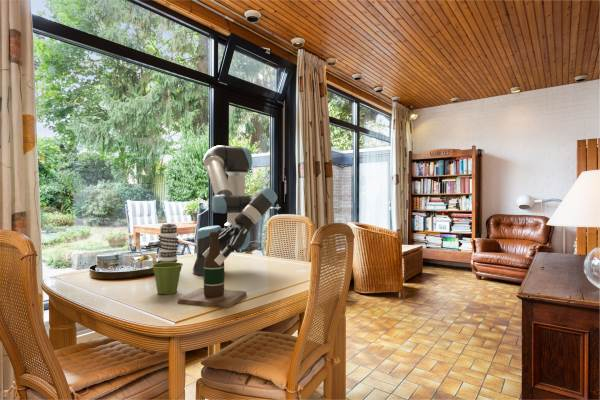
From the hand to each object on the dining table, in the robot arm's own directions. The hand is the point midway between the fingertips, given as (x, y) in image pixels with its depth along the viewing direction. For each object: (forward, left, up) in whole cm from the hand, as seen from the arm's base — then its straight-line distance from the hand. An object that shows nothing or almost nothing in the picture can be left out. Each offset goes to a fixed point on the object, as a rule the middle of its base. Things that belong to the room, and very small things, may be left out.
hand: (210, 260), depth 128 cm
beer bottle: (+1, +1, -14) cm, 14 cm away
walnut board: (+1, +1, -15) cm, 15 cm away
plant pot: (-21, +4, -15) cm, 26 cm away
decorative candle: (-40, +32, -15) cm, 54 cm away
